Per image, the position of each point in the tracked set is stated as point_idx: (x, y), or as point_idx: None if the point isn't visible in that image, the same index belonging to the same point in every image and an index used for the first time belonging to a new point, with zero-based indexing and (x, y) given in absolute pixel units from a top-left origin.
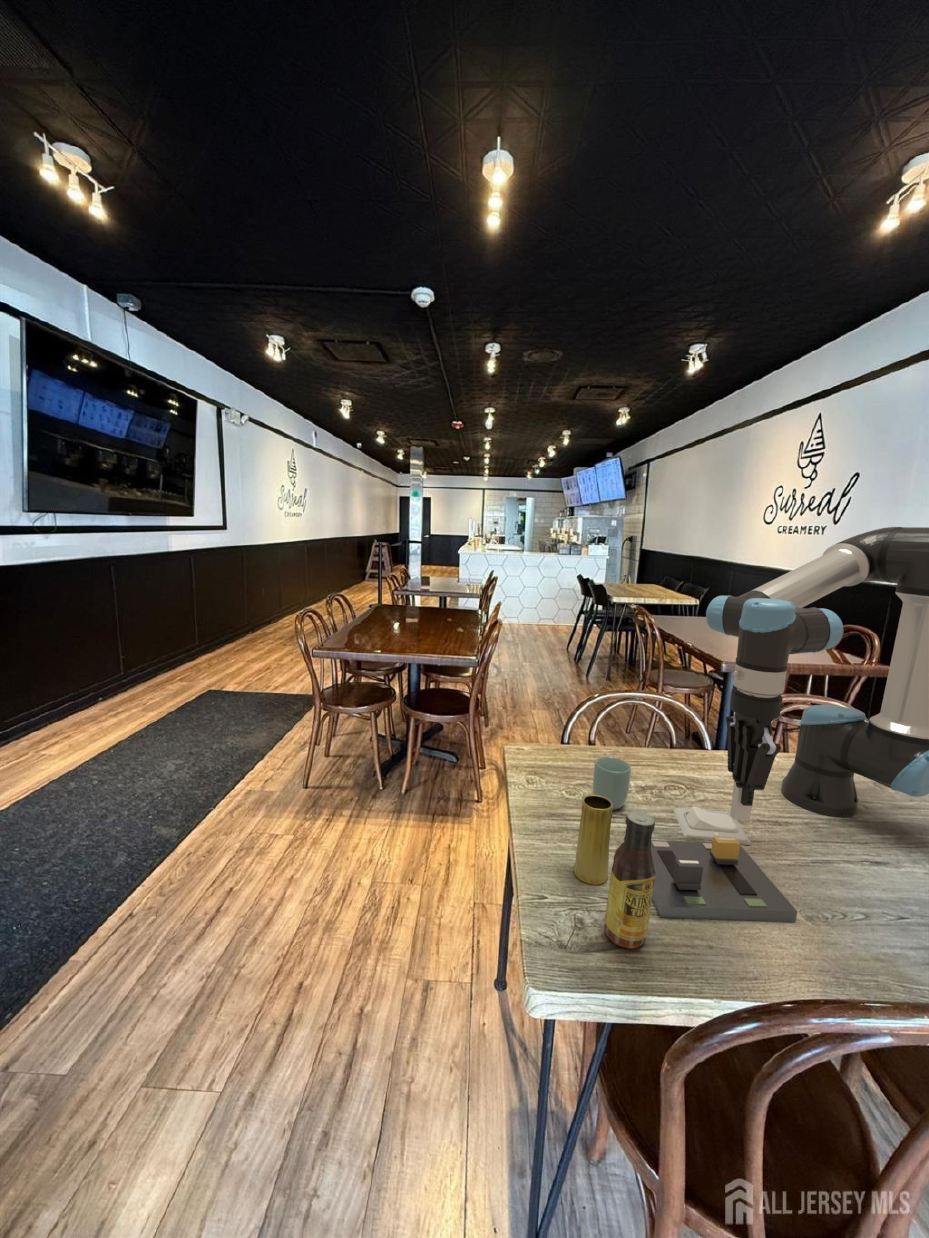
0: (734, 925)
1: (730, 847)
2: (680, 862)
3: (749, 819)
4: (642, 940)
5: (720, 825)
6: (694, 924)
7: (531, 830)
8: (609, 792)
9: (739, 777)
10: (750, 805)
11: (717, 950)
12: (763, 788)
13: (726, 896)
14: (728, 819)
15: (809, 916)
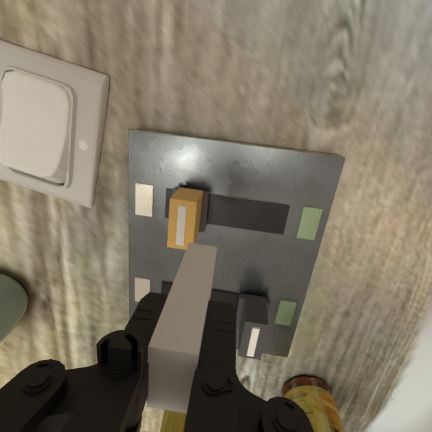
0: (319, 259)
1: (196, 219)
2: (253, 356)
3: (216, 248)
4: (329, 392)
5: (58, 125)
6: (305, 310)
7: None
8: (4, 335)
9: (139, 421)
10: (231, 308)
11: (354, 308)
12: (310, 428)
13: (283, 259)
14: (28, 86)
15: (330, 112)
